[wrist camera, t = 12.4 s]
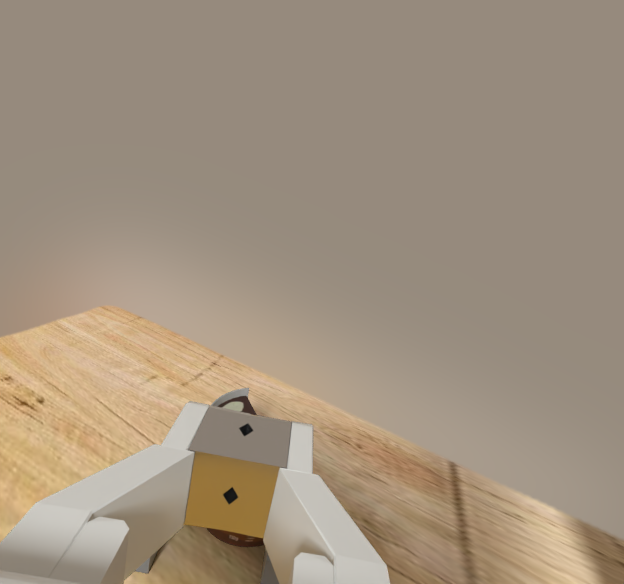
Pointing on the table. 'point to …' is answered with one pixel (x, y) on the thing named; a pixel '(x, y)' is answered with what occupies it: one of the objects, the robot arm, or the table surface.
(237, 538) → the food container
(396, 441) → the table surface
